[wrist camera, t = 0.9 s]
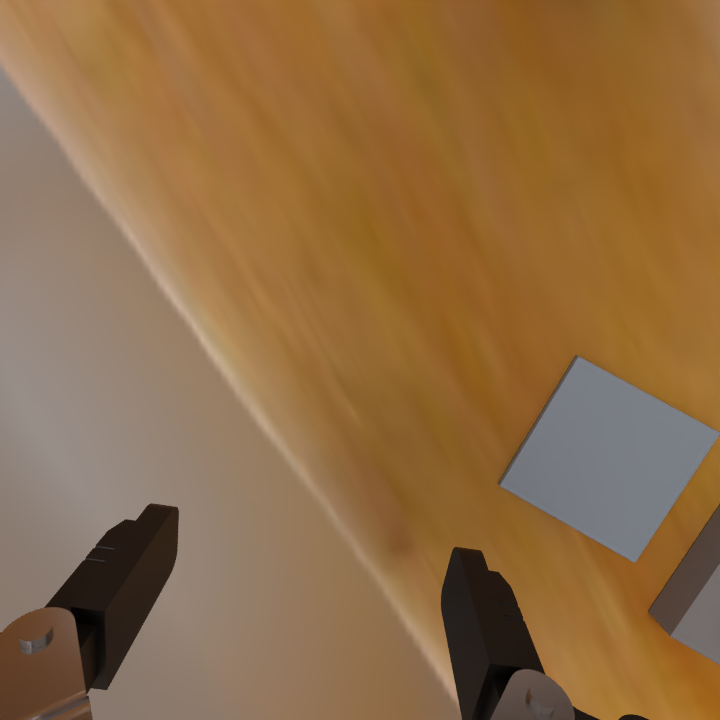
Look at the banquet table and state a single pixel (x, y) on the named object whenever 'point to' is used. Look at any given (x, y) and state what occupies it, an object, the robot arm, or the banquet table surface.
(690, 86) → the banquet table surface
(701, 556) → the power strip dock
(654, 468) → the rubber mat
